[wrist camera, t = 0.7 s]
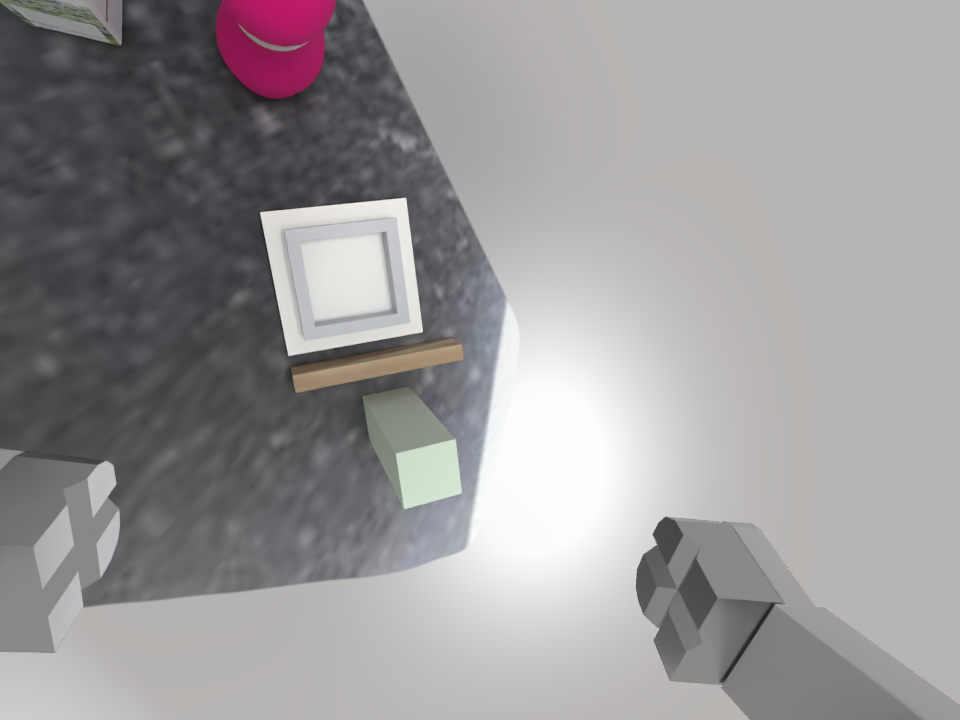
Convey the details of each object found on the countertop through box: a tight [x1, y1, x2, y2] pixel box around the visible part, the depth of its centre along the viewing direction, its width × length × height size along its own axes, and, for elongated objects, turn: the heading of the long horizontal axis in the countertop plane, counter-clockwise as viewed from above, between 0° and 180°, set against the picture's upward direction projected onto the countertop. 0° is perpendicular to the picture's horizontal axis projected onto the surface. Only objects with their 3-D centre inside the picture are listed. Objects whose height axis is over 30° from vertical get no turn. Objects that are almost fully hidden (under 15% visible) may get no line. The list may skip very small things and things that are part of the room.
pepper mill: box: [216, 0, 336, 99], centre depth 35 cm, size 7×7×20 cm
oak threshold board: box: [291, 337, 464, 393], centre depth 52 cm, size 2×15×3 cm, turn 96°
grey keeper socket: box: [260, 198, 423, 356], centre depth 49 cm, size 12×12×3 cm
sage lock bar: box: [362, 386, 462, 509], centre depth 48 cm, size 4×4×14 cm
